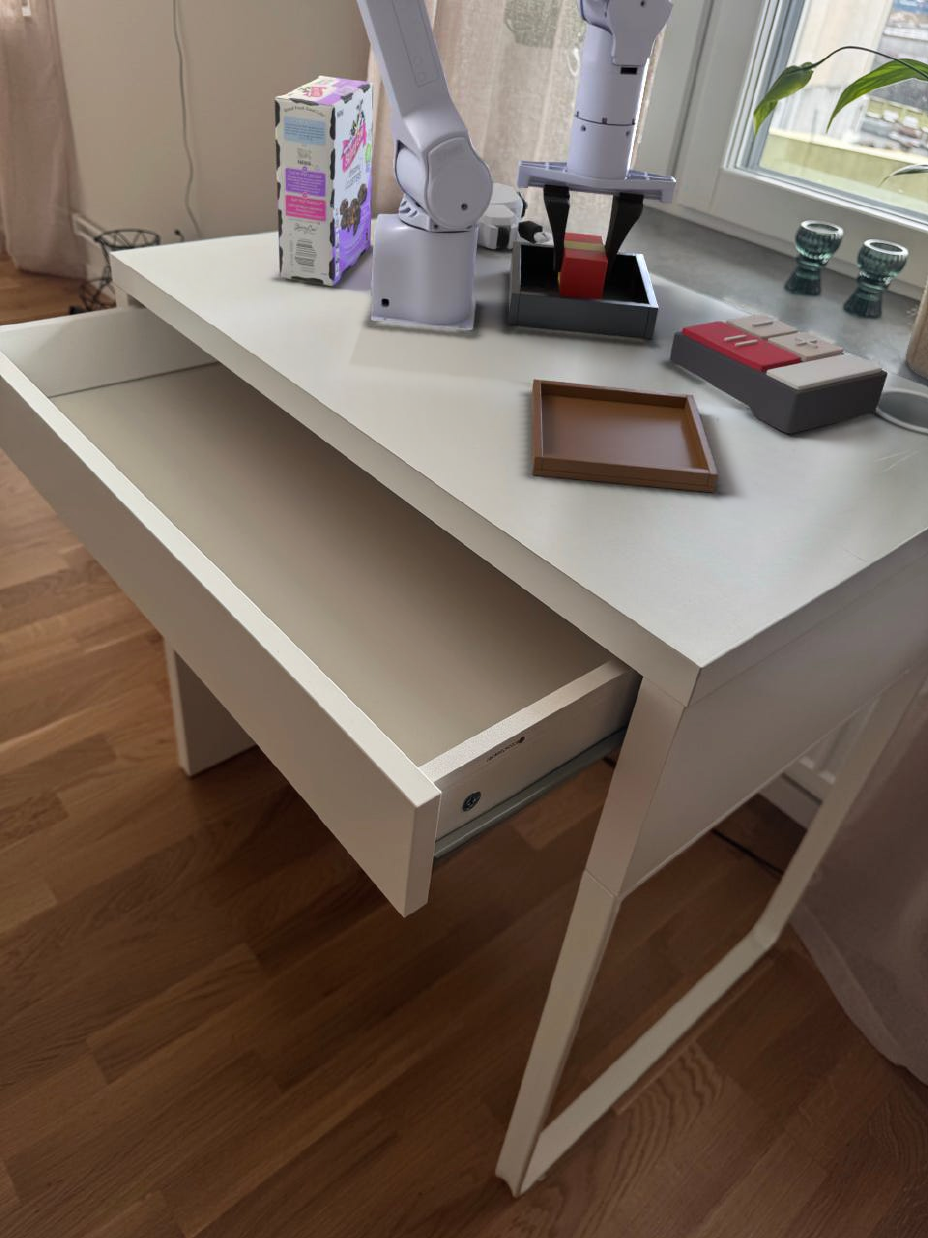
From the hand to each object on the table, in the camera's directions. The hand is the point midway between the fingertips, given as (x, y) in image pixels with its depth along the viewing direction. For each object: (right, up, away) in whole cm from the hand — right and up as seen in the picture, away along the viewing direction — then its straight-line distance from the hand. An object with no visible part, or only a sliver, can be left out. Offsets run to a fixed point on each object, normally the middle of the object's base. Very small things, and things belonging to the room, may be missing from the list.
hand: (581, 271), depth 95 cm
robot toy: (-9, +10, +18) cm, 23 cm away
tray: (0, -20, -20) cm, 28 cm away
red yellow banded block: (0, -1, +1) cm, 1 cm away
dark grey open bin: (0, -3, +2) cm, 4 cm away
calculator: (+15, -14, -9) cm, 23 cm away
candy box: (-26, +3, +7) cm, 27 cm away
